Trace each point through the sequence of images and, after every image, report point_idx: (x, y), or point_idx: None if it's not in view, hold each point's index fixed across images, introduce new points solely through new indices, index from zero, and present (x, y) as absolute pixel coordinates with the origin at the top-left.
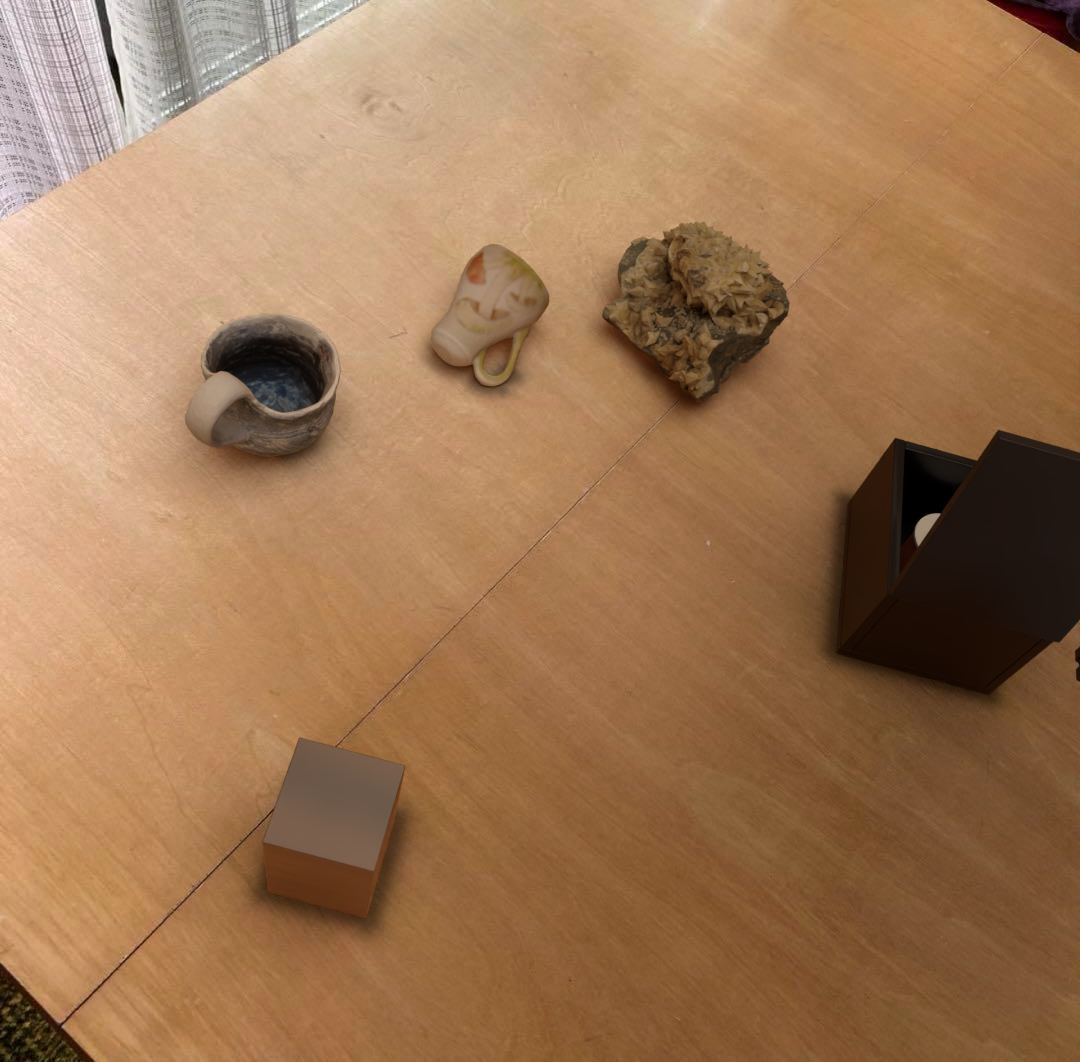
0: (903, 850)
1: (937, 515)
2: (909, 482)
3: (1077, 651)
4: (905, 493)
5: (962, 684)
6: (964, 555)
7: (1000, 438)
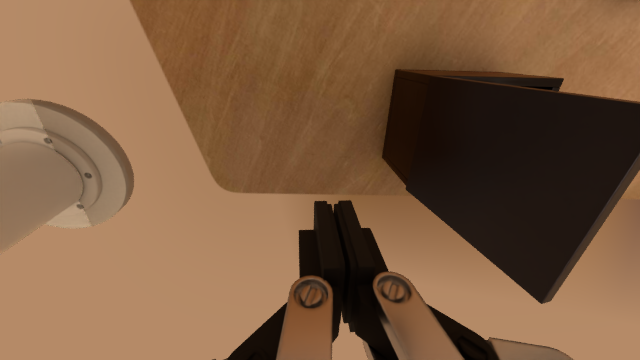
0: (287, 114)
1: None
2: None
3: (347, 203)
4: None
5: (385, 143)
6: (467, 117)
7: None
